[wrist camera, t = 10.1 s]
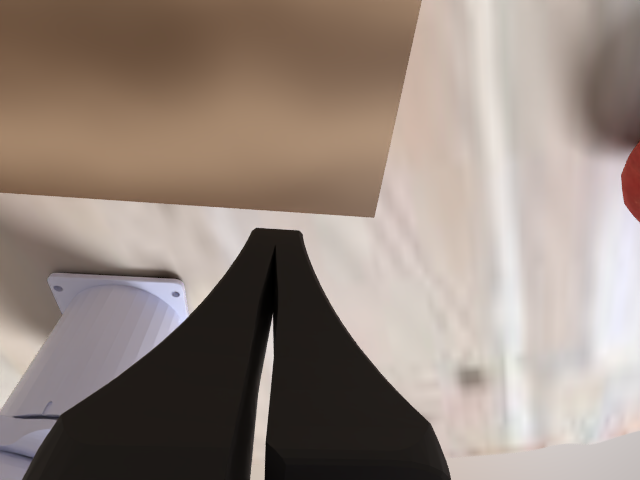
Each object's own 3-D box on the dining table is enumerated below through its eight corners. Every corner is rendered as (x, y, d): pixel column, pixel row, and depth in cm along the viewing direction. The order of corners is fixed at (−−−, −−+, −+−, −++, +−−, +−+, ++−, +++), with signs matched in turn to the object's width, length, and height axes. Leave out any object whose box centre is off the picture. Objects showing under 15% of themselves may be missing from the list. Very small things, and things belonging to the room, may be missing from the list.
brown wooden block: (363, 174, 20) (374, 217, 17) (-48, 142, 19) (-120, 184, 16) (422, -145, 13) (458, -170, 10) (-238, -240, 12) (-442, -305, 8)
